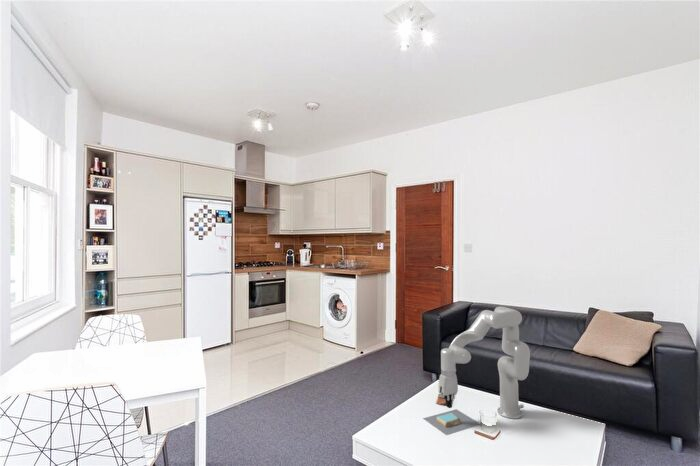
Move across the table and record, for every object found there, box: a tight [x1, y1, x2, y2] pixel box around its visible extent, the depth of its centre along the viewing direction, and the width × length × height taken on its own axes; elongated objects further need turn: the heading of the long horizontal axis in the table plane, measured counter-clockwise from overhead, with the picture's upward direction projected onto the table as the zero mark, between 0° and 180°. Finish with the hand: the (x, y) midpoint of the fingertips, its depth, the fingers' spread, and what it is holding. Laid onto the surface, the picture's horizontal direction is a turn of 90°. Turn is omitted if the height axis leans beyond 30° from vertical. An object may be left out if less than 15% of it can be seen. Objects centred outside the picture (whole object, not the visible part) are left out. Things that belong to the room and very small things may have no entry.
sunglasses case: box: [435, 393, 446, 407], centre depth 216 cm, size 18×7×7 cm, turn 161°
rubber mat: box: [422, 408, 480, 436], centre depth 189 cm, size 24×19×1 cm
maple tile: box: [437, 413, 460, 427], centre depth 188 cm, size 3×7×10 cm
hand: (448, 406), depth 189 cm, fingers closed
